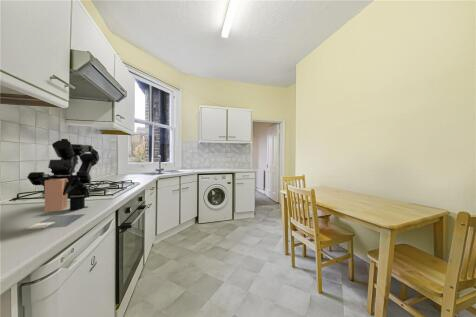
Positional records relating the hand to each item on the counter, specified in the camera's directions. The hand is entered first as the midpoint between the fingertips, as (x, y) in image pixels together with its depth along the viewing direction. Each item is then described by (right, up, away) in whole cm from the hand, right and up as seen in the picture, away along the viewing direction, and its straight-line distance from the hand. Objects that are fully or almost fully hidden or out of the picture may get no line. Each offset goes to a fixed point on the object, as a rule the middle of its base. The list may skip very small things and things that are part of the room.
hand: (54, 195), depth 71 cm
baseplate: (-3, -12, +4) cm, 13 cm away
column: (-1, -6, +1) cm, 6 cm away
